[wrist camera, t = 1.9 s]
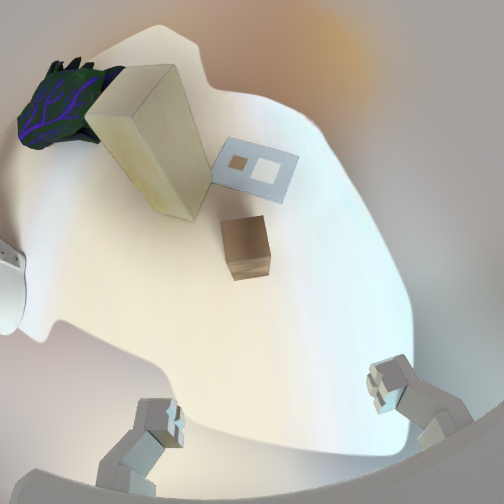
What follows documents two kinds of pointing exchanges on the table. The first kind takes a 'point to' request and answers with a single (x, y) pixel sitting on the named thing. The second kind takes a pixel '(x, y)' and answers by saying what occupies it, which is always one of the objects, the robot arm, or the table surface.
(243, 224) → the walnut block
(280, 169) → the page
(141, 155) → the tall cream box
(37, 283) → the table surface
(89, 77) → the decorative plant
